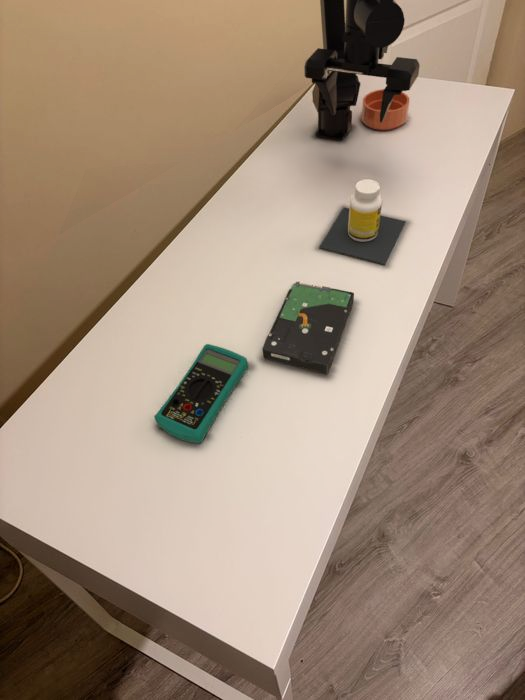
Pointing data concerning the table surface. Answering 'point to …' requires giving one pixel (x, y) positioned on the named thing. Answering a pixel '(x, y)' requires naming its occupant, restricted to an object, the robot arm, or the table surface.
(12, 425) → the table surface
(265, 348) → the disk drive
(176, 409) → the digital multimeter
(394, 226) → the mat
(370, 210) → the supplement bottle
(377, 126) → the dish
